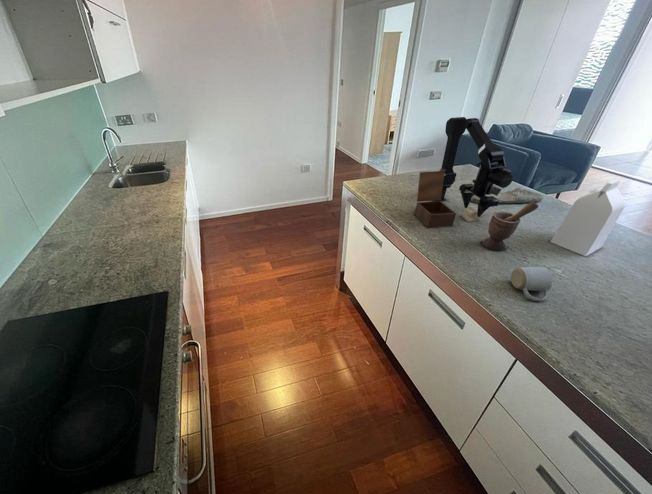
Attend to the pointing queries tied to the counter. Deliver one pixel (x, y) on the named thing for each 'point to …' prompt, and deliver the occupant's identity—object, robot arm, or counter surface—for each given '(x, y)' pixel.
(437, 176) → the lid
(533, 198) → the elongated rock
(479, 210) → the robot arm
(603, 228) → the milk
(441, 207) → the chest
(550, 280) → the ceramic mug
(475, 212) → the block
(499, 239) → the mortar and pestle
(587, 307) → the counter surface
